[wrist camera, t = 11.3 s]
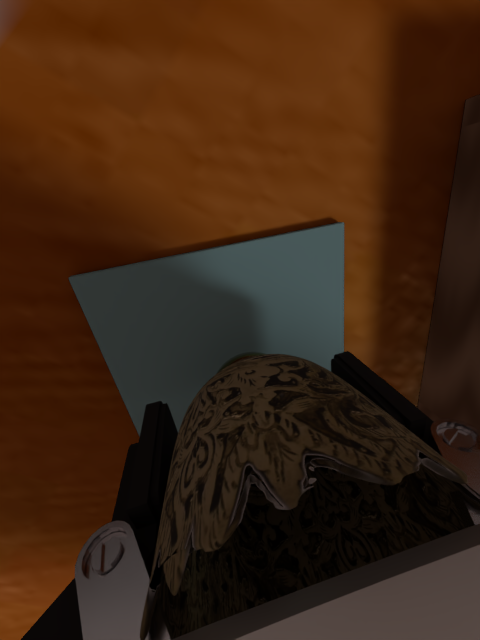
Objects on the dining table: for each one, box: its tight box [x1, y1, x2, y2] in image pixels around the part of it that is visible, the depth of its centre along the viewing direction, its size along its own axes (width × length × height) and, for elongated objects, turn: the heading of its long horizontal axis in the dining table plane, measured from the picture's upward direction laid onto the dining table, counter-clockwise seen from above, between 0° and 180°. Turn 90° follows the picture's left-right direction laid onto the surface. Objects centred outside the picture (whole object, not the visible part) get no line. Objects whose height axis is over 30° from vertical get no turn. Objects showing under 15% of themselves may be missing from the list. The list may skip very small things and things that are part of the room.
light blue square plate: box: [68, 222, 344, 436], centre depth 14 cm, size 12×12×1 cm
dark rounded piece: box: [140, 352, 480, 640], centre depth 9 cm, size 8×7×8 cm
